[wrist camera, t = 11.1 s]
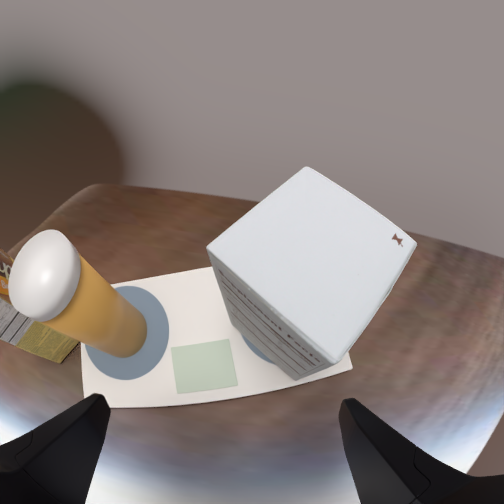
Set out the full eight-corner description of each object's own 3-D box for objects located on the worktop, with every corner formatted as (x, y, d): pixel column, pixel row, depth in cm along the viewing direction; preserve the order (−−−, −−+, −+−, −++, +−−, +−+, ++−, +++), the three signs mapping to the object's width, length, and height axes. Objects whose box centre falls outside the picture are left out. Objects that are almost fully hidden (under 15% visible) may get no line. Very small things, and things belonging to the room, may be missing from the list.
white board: (353, 368, 21) (358, 366, 20) (91, 406, 19) (84, 406, 18) (316, 252, 27) (319, 245, 26) (88, 293, 25) (81, 288, 24)
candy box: (30, 310, 24) (-58, 243, 10) (50, 286, 25) (-35, 209, 12) (61, 365, 21) (-55, 313, 8) (83, 339, 22) (-30, 270, 9)
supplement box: (287, 267, 25) (308, 160, 14) (349, 320, 22) (424, 242, 11) (228, 324, 22) (200, 243, 11) (293, 385, 20) (340, 368, 9)
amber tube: (150, 356, 21) (63, 309, 10) (100, 360, 20) (3, 316, 10) (146, 300, 23) (76, 221, 13) (99, 307, 23) (18, 239, 12)
